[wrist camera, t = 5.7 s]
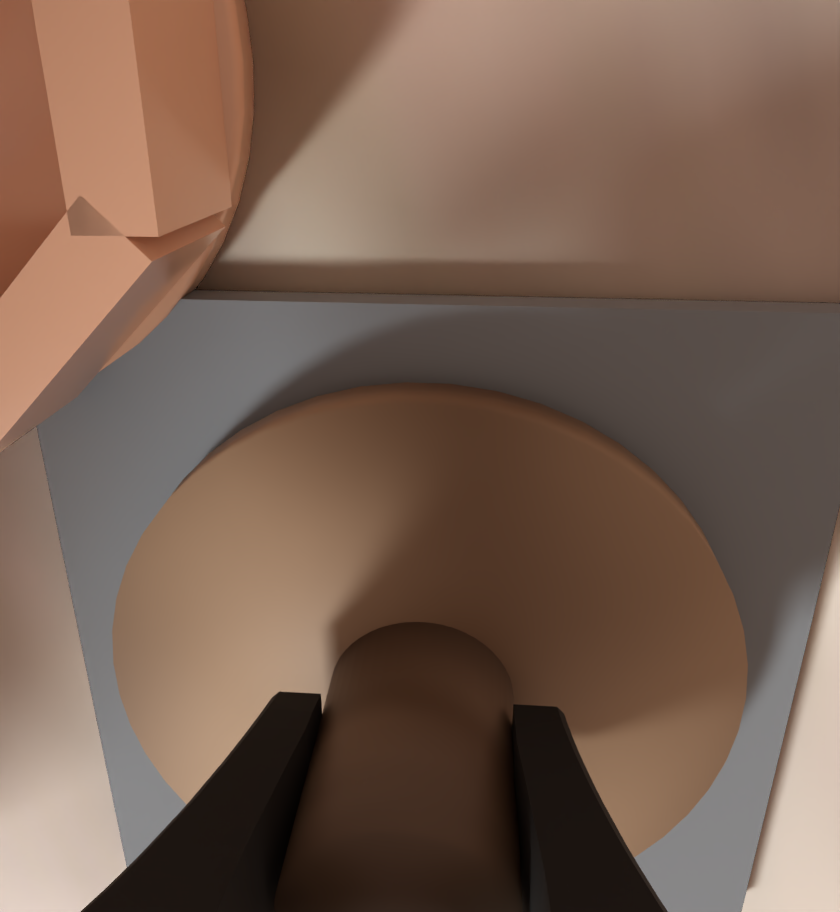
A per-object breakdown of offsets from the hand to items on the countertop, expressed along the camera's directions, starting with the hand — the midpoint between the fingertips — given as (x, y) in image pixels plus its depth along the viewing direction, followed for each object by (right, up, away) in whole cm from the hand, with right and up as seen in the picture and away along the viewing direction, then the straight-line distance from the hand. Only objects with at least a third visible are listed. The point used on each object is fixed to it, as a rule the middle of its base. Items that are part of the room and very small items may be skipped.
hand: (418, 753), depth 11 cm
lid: (0, +1, +1) cm, 2 cm away
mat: (0, +1, +2) cm, 3 cm away
